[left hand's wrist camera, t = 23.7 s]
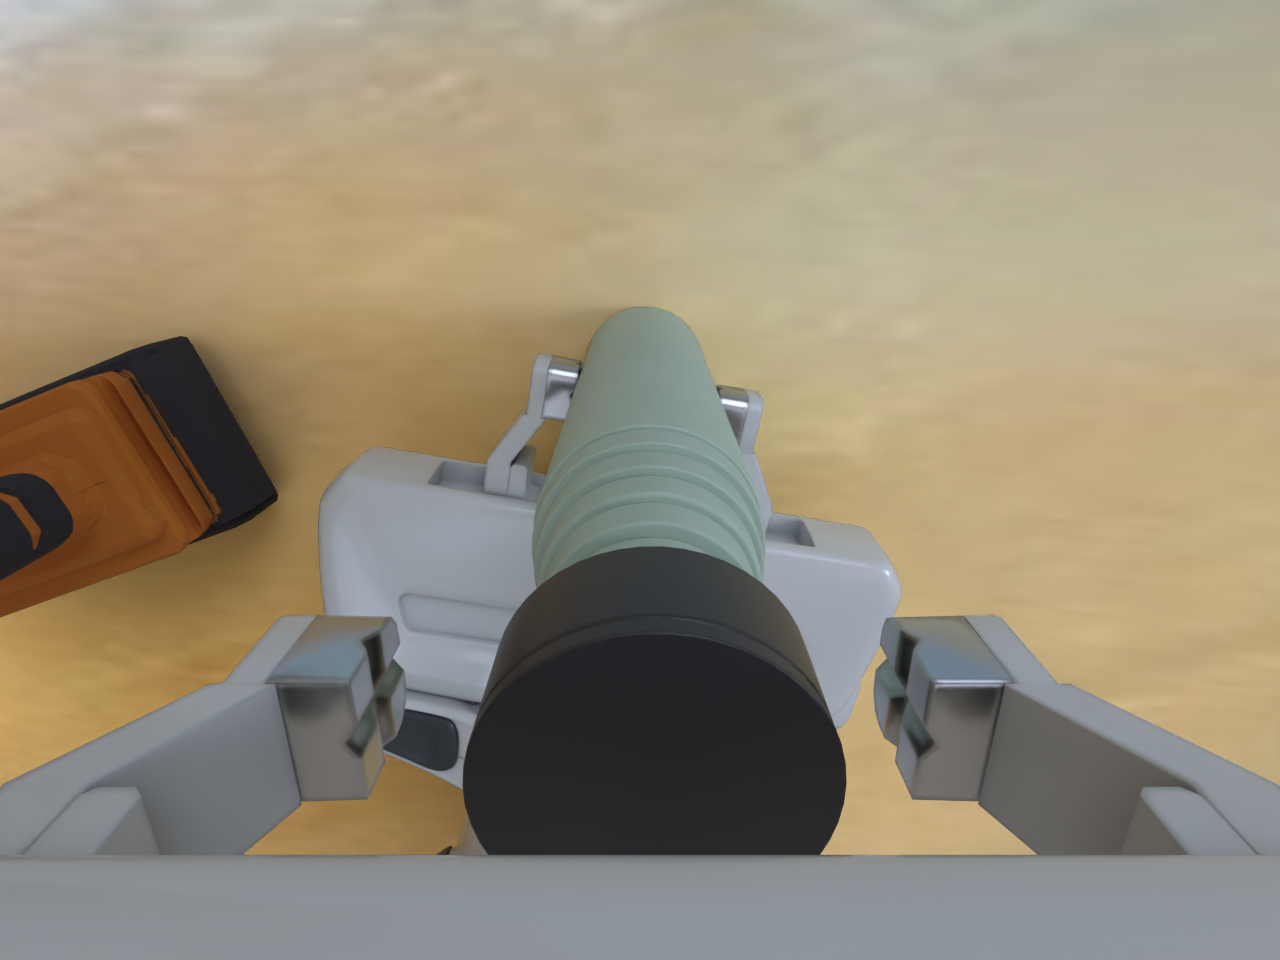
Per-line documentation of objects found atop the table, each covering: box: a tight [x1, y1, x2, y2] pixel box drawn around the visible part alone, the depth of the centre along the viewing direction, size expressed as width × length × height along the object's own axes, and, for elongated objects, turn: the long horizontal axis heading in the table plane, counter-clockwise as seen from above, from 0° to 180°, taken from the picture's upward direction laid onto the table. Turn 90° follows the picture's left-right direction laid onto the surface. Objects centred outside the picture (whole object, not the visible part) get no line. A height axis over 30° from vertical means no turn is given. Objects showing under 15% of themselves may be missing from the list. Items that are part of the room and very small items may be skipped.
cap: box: [462, 546, 846, 855], centre depth 9 cm, size 4×4×2 cm
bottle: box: [532, 307, 766, 588], centre depth 19 cm, size 5×5×22 cm
